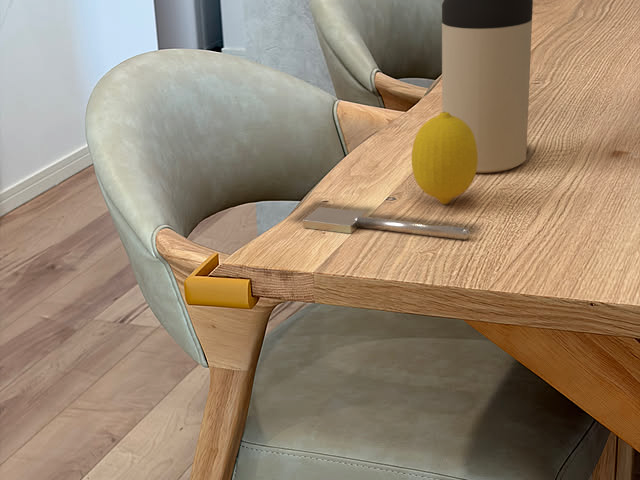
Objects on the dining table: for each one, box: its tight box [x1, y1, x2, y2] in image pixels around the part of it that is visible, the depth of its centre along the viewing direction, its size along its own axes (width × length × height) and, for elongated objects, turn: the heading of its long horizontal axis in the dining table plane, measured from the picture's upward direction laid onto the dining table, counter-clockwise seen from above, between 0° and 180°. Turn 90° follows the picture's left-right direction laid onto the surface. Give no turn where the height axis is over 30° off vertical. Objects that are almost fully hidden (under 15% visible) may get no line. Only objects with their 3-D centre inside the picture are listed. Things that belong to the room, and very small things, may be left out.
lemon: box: [411, 111, 478, 205], centre depth 76 cm, size 6×6×8 cm
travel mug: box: [441, 0, 534, 174], centre depth 83 cm, size 8×8×18 cm
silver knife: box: [302, 206, 471, 241], centre depth 74 cm, size 14×3×1 cm, turn 64°
